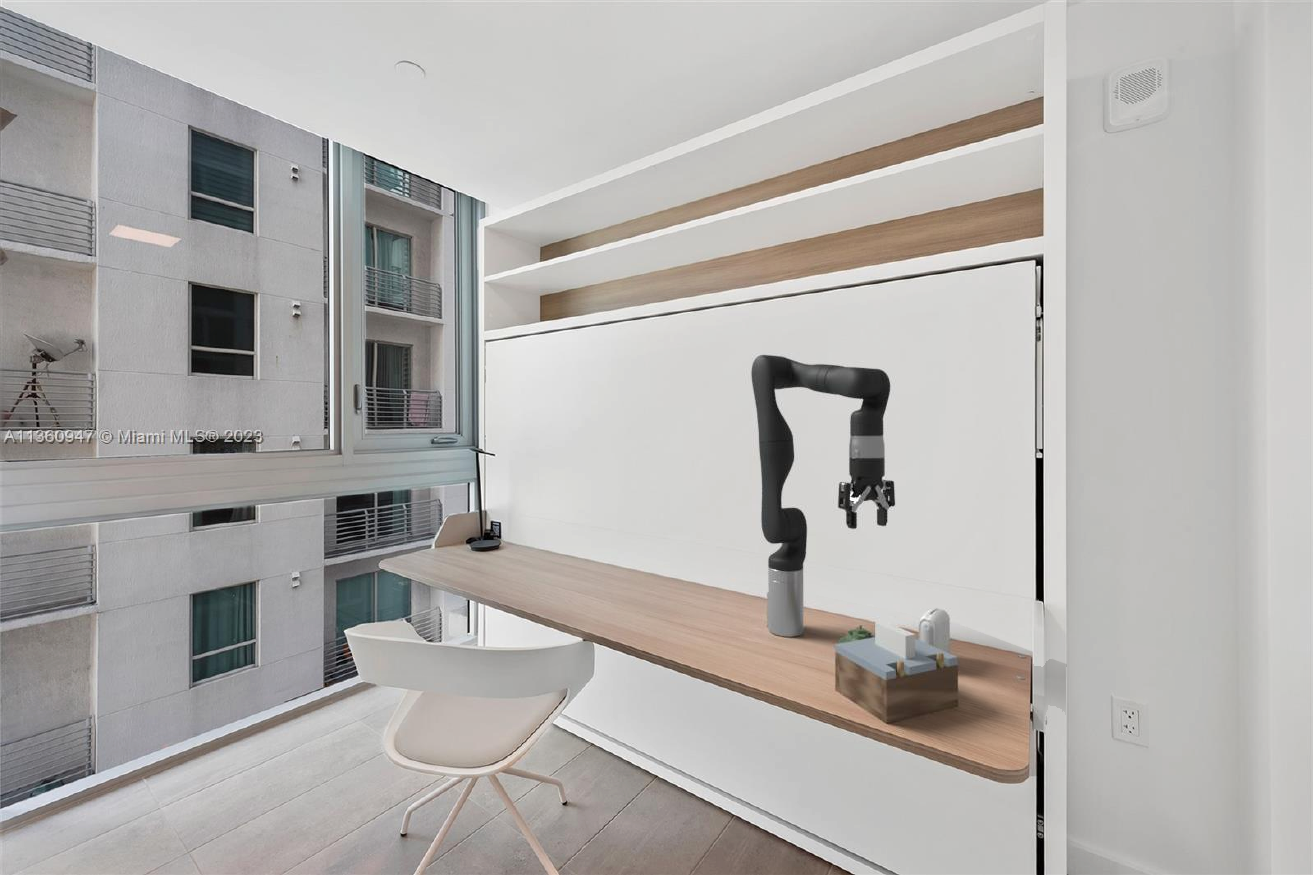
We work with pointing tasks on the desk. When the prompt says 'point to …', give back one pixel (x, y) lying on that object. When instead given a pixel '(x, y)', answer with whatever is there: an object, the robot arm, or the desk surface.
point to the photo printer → (935, 629)
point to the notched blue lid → (893, 652)
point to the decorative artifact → (856, 635)
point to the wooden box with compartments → (898, 689)
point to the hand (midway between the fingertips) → (867, 526)
